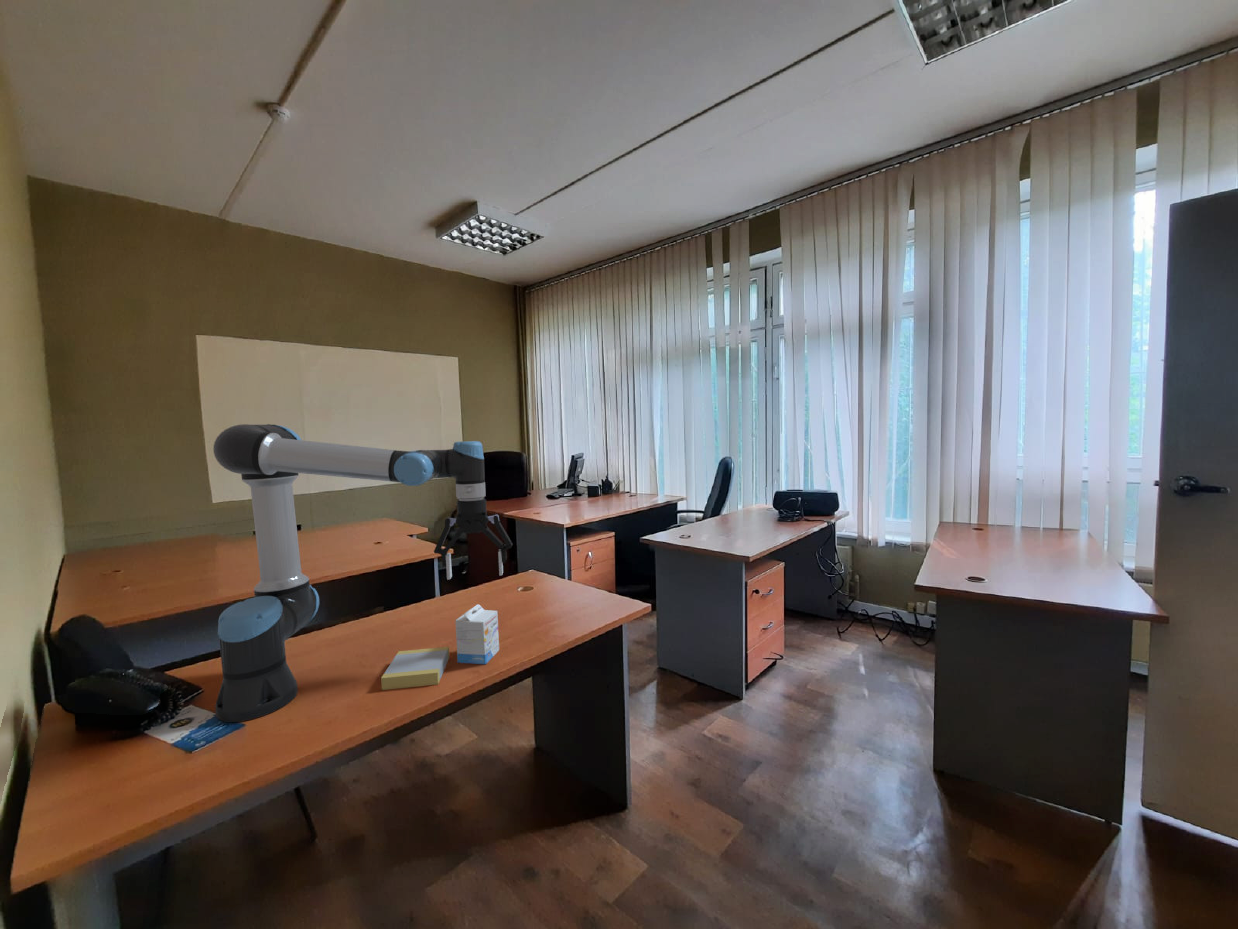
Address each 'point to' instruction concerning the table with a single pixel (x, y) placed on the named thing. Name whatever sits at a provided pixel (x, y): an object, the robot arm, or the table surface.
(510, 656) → the table surface
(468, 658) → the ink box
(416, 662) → the dock
